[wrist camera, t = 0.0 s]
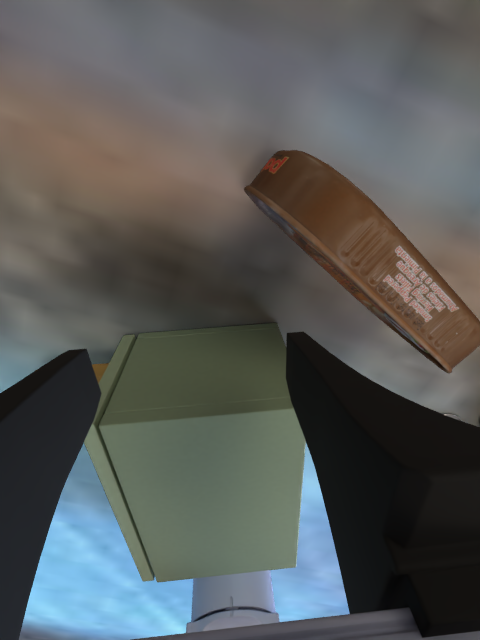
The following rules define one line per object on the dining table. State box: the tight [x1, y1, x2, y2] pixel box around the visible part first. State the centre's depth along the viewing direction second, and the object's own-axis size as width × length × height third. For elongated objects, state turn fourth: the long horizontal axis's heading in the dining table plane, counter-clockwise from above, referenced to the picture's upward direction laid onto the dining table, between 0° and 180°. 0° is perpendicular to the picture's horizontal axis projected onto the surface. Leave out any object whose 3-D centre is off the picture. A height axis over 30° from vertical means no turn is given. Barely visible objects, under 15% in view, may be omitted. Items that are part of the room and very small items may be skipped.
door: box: [35, 335, 155, 581], centre depth 22 cm, size 7×16×8 cm, turn 3°
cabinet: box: [99, 323, 306, 582], centre depth 22 cm, size 10×16×9 cm, turn 3°
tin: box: [244, 150, 480, 373], centre depth 16 cm, size 15×3×8 cm, turn 49°
